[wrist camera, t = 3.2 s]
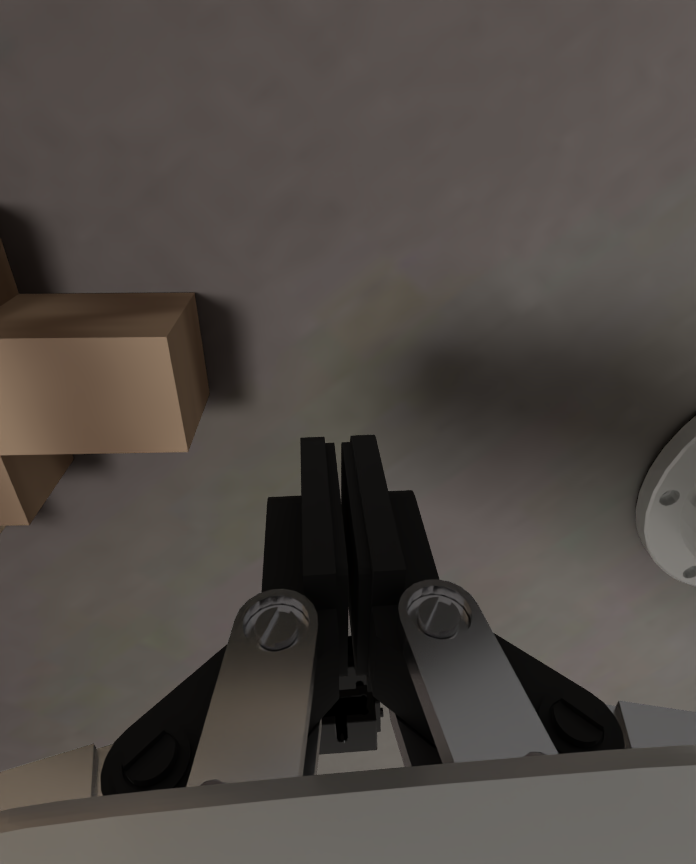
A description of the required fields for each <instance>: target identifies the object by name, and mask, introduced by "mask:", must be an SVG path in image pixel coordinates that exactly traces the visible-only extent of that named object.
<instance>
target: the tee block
mask: <svg viewBox="0 0 696 864" xmlns="http://www.w3.org/2000/svg"><path fill="white" fill-rule="evenodd" d="M209 394H210V392H209V385H208V379H207V372H206V365H205V359H204V352H203V346H202V339H201V332H200V326H199V319H198V312H197V306H196V299H195V293H69V294H19V292H18V289H17V286H16V283H15V280H14V277H13V274H12V271H11V268H10V265H9V262H8V259H7V256H6V253H5V250H4V247H3V244H2V241H1V238H0V526H9V525H30V523H31V522H32V520H33V519H34V517H35V516H36V514H37V513H38V511H39V510H40V508H41V507H42V505H43V504H44V503H45V501H46V500H47V498H48V497H49V495H50V494H51V492H52V491H53V489H54V488H55V486H56V485H57V483H58V482H59V480H60V479H61V477H62V476H63V474H64V473H65V471H66V470H67V468H68V467H69V465H70V464H71V463H72V461H73V460H74V459H73V456H72V454H102V453H157V452H188V451H189V448H190V445H191V443H192V440H193V437H194V435H195V432H196V429H197V427H198V424H199V421H200V418H201V416H202V413H203V410H204V408H205V405H206V402H207V400H208V397H209Z"/></svg>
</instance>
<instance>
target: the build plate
mask: <svg viewBox="0 0 696 864" xmlns="http://www.w3.org/2000/svg"><path fill="white" fill-rule="evenodd" d="M380 717H383V708H380V701H378V700H377V699H376V698H375V697H373V693H372V692H368V690H367V682H366V675H360V676H356V673H355V664H354V655H353V645H352V636H348V676H347V677H339V699H338V701H337V702H336V703H335V704H334V705H333V706H332V707H331V708H330V710H329V711H328V712H327V713H326V714H325V715H324V716H323V717H322V729H321V739H320V748H319V754H331V753H344V752H357V751H369V750H377V732H381V729H380Z"/></svg>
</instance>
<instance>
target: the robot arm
mask: <svg viewBox="0 0 696 864" xmlns="http://www.w3.org/2000/svg"><path fill="white" fill-rule="evenodd" d="M300 441H301V495H302V496H285V497H268V501H267V515H266V531H265V547H264V563H263V579H262V593H258V594H257V595H255V596H254V597H252V598H250V599H249V600H248V601H247V602H246V603H245V604H244V605H243V606H242V607H241V608H240V609H239V611H238V613H237V615H236V618H235V620H234V623H233V627H232V630H231V634H230V637H229V640H228V644H227V645H226V646H225V647H223V648H222V649H221V650H220V651H219V652H217V653H216V654H215V655H214V656H213V657H212V658H210V659H209V660H208V661H207V662H206V663H205V664H203V665H202V666H201V667H200V668H199V669H197V670H196V671H195V672H194V673H193V674H192V675H190V676H189V677H188V678H187V679H186V680H184V681H183V682H182V683H181V684H180V685H179V686H177V687H176V688H175V689H174V690H173V691H171V692H170V693H169V694H168V695H167V696H166V697H164V698H163V699H162V700H161V701H160V702H159V703H157V704H156V705H155V706H154V707H153V708H151V709H150V710H149V711H148V712H147V713H146V714H144V715H143V716H142V717H141V718H140V719H138V720H137V721H136V722H135V723H134V724H133V725H131V726H130V727H129V728H128V729H127V730H126V731H125V732H124V733H123V734H122V735H121V736H120V737H119V738H118V739H117V740H116V741H115V742H114V743H113V744H110V745H107V746H104V747H100V748H97V749H96V747H95V745H94V743H93V744H90V745H86V746H83V747H80V748H77V749H73V750H70V751H67V752H63V753H60V754H57V755H54V756H50V757H47V758H44V759H41V760H37V761H34V762H31V763H28V764H24V765H21V766H18V767H15V768H11V769H8V770H5V771H2V772H0V864H696V712H692V711H686V710H679V709H672V708H666V707H659V706H652V705H645V704H639V703H632V702H625V701H618V703H617V705H616V706H612V705H605V703H604V702H602V701H601V700H600V699H598V698H597V697H596V696H594V695H593V694H592V693H590V692H589V691H587V690H586V689H584V688H582V687H581V686H579V685H577V684H576V683H574V682H573V681H571V680H569V679H568V678H566V677H564V676H563V675H561V674H560V673H558V672H556V671H555V670H553V669H551V668H550V667H548V666H547V665H545V664H543V663H542V662H540V661H538V660H537V659H535V658H534V657H532V656H530V655H529V654H527V653H525V652H524V651H522V650H520V649H519V648H517V647H516V646H514V645H512V644H511V643H509V642H507V641H506V640H504V639H503V638H501V637H499V636H498V635H496V634H494V633H493V631H492V630H491V628H490V626H489V624H488V622H487V620H486V618H485V617H484V615H483V613H482V611H481V609H480V607H479V605H478V604H477V602H476V601H475V600H474V598H473V597H472V596H471V594H470V593H468V592H467V591H466V590H464V589H463V588H462V587H460V586H458V585H456V584H454V583H451V582H449V581H444V580H439V576H438V573H437V570H436V566H435V563H434V559H433V556H432V552H431V549H430V546H429V542H428V539H427V535H426V532H425V529H424V525H423V522H422V518H421V515H420V511H419V508H418V505H417V501H416V498H415V495H414V492H413V491H412V490H407V491H388V488H387V484H386V480H385V475H384V471H383V467H382V462H381V458H380V454H379V449H378V445H377V441H376V437H375V435H356V436H351V437H350V442H342V444H341V498H340V489H339V481H338V472H337V463H336V454H335V445H334V443H325V438H324V437H308V438H300ZM635 512H636V529H637V532H638V534H639V537H640V540H641V543H642V545H643V546H644V547H645V549H646V550H647V552H648V553H649V555H650V556H651V557H652V559H653V560H654V562H655V563H656V564H657V565H658V566H659V567H660V568H661V569H662V570H663V571H664V572H665V573H666V574H668V575H669V576H671V577H673V578H675V579H676V580H678V581H680V582H683V583H686V584H689V585H693V586H696V416H695V417H694V418H693V419H691V420H690V421H689V422H688V423H687V424H685V425H684V426H683V427H682V428H681V429H680V430H679V432H678V433H677V434H676V435H675V436H674V437H673V438H672V439H671V440H670V441H669V442H668V444H667V445H666V446H665V447H664V448H663V450H662V451H661V452H660V454H659V455H658V457H657V458H656V460H655V461H654V463H653V464H652V466H651V467H650V469H649V471H648V473H647V475H646V477H645V480H644V482H643V484H642V486H641V489H640V491H639V496H638V501H637V506H636V510H635ZM348 607H349V616H350V626H351V636H352V645H353V655H354V664H355V673H356V676H360V675H366V682H367V690H368V692H372V693H373V697H375V698H376V699H377V700H378V701H380V702H381V703H382V704H384V705H385V706H386V707H387V708H389V713H390V720H391V724H392V727H393V730H394V733H395V737H396V740H397V743H398V747H399V750H400V753H401V756H402V760H403V763H404V766H405V767H401V768H390V769H379V770H367V771H356V772H345V773H334V774H323V775H317V768H318V758H319V748H320V739H321V729H322V717H323V716H324V715H325V714H326V713H327V712H328V711H329V710H330V708H331V707H332V706H333V705H334V704H335V703H336V702H337V701H338V699H339V677H347V676H348Z"/></svg>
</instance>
